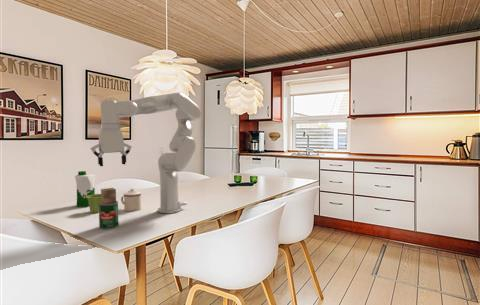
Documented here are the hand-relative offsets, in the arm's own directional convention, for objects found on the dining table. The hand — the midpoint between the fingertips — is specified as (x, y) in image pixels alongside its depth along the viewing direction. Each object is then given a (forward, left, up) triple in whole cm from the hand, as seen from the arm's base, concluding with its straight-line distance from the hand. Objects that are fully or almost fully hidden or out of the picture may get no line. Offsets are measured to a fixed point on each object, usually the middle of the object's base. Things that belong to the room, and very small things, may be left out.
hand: (112, 165), depth 128 cm
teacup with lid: (-14, -22, -28) cm, 38 cm away
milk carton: (+4, -47, -27) cm, 55 cm away
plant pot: (+2, -28, -27) cm, 40 cm away
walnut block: (+3, +4, -16) cm, 17 cm away
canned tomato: (+3, +4, -28) cm, 28 cm away
